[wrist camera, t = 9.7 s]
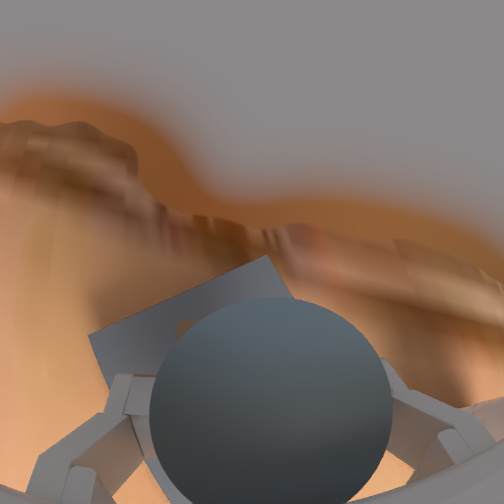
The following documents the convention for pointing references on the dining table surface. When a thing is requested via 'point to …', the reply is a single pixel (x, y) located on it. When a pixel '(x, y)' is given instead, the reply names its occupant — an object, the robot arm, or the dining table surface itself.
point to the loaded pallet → (270, 406)
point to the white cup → (489, 416)
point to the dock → (165, 331)
